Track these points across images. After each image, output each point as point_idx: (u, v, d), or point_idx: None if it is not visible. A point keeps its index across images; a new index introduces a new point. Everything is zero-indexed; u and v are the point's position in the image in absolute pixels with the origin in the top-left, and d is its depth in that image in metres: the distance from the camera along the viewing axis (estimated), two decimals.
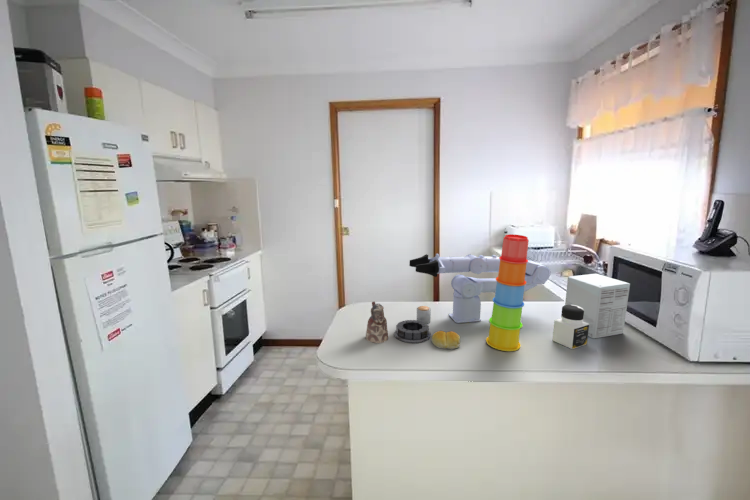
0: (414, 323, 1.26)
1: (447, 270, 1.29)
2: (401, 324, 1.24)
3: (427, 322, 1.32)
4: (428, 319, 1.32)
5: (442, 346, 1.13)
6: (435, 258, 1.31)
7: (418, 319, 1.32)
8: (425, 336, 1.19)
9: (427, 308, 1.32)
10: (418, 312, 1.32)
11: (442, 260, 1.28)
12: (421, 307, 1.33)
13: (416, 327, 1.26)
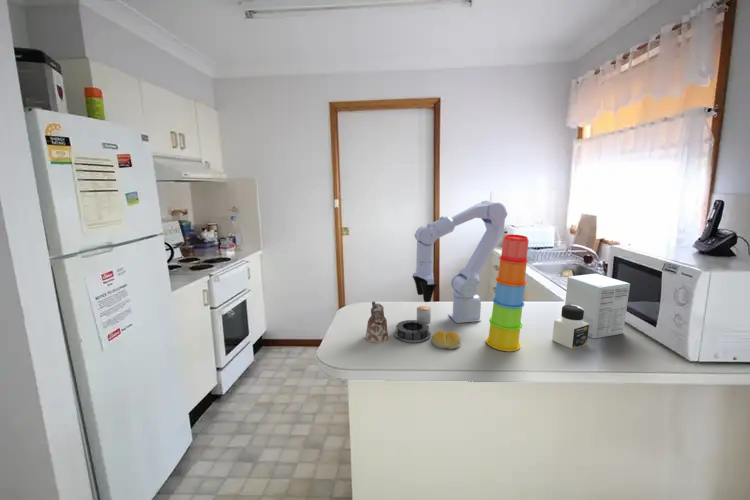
0: (414, 323, 1.26)
1: (430, 267, 1.28)
2: (401, 324, 1.24)
3: (427, 322, 1.32)
4: (428, 319, 1.32)
5: (442, 346, 1.13)
6: None
7: (418, 319, 1.32)
8: (425, 336, 1.19)
9: (427, 308, 1.32)
10: (418, 312, 1.32)
11: (420, 272, 1.28)
12: (421, 307, 1.33)
13: (416, 327, 1.26)
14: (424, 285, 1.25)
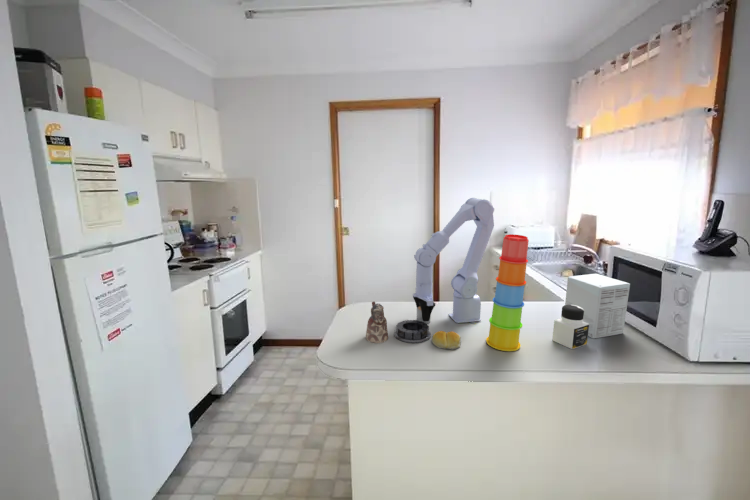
0: (414, 323, 1.26)
1: (430, 288, 1.29)
2: (401, 324, 1.24)
3: (427, 322, 1.32)
4: None
5: (442, 346, 1.13)
6: None
7: (418, 319, 1.32)
8: (425, 336, 1.19)
9: None
10: (418, 312, 1.32)
11: (419, 293, 1.29)
12: None
13: (416, 327, 1.26)
14: (423, 305, 1.27)
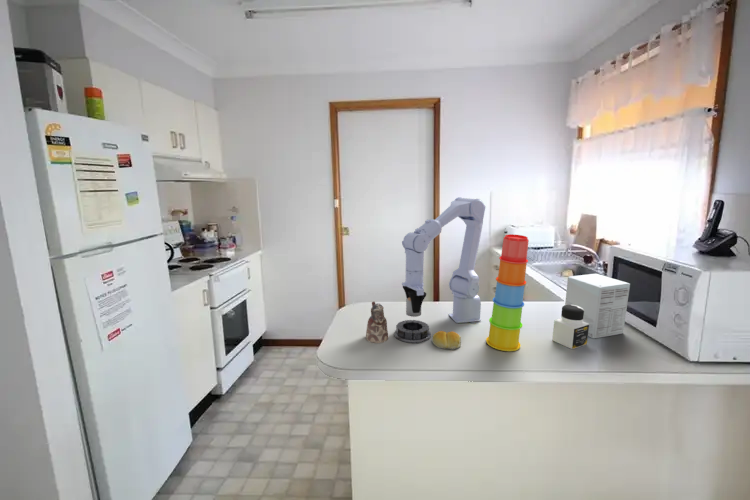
0: (414, 323, 1.26)
1: (420, 276, 1.18)
2: (401, 324, 1.24)
3: (418, 314, 1.21)
4: None
5: (443, 346, 1.13)
6: None
7: (408, 311, 1.21)
8: (425, 336, 1.19)
9: None
10: (408, 303, 1.21)
11: (409, 282, 1.18)
12: None
13: (416, 327, 1.26)
14: (412, 295, 1.16)
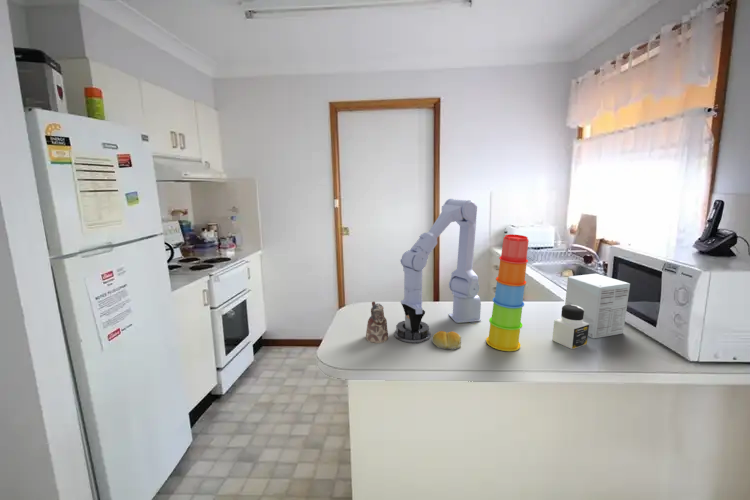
0: None
1: (419, 294, 1.18)
2: (401, 324, 1.24)
3: None
4: None
5: (443, 346, 1.13)
6: None
7: (407, 328, 1.21)
8: (425, 336, 1.19)
9: None
10: (407, 321, 1.21)
11: (408, 300, 1.18)
12: None
13: None
14: (411, 313, 1.16)
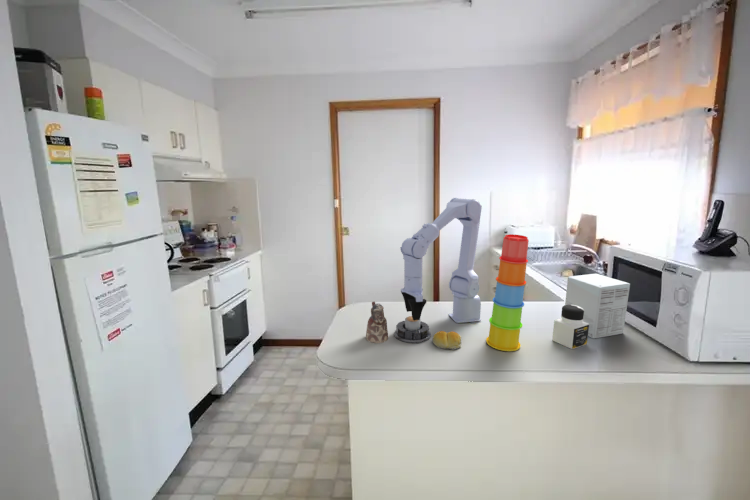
0: None
1: (419, 282, 1.17)
2: (401, 324, 1.24)
3: None
4: None
5: (443, 346, 1.13)
6: None
7: None
8: (425, 336, 1.19)
9: None
10: (407, 323, 1.21)
11: (408, 288, 1.18)
12: (410, 317, 1.22)
13: None
14: (412, 302, 1.14)
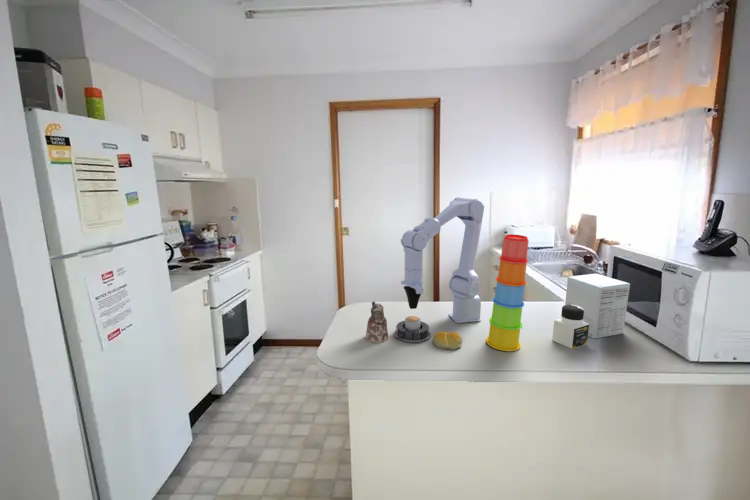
0: None
1: (419, 274, 1.17)
2: (401, 324, 1.24)
3: None
4: None
5: (444, 346, 1.13)
6: None
7: None
8: (425, 336, 1.19)
9: (416, 319, 1.21)
10: (407, 323, 1.21)
11: (408, 280, 1.17)
12: (410, 317, 1.22)
13: None
14: (409, 291, 1.17)
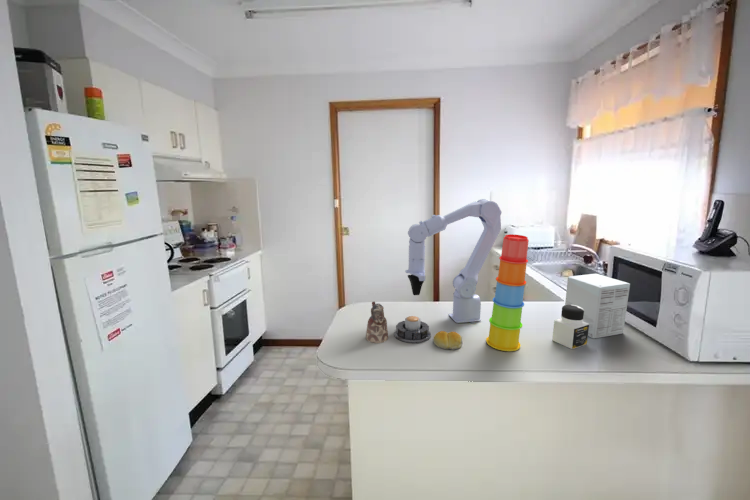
0: None
1: (422, 264, 1.30)
2: (401, 324, 1.24)
3: None
4: None
5: (444, 346, 1.13)
6: None
7: None
8: (425, 336, 1.19)
9: (416, 319, 1.21)
10: (407, 323, 1.21)
11: (412, 269, 1.30)
12: (410, 317, 1.22)
13: None
14: (413, 279, 1.30)
